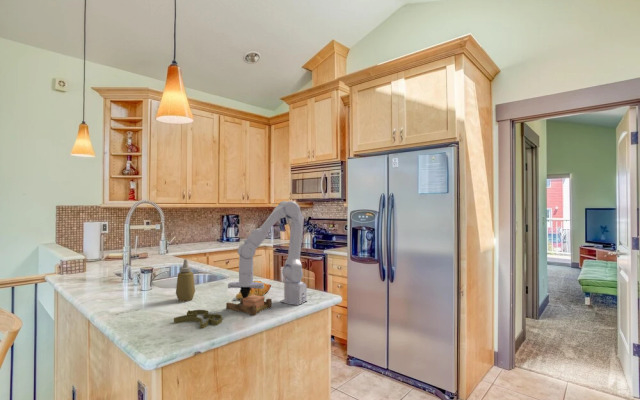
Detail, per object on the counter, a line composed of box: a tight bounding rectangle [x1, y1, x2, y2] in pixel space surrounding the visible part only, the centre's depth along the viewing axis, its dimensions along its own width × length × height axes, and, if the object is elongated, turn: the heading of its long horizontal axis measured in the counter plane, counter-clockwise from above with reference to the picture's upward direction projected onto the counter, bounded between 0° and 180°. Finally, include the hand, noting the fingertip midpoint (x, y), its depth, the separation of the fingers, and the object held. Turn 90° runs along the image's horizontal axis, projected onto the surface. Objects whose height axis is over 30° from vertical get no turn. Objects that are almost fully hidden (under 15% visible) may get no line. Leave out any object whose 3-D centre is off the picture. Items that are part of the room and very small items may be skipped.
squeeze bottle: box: [175, 258, 196, 302], centre depth 150 cm, size 8×8×18 cm
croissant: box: [235, 280, 272, 300], centre depth 157 cm, size 21×10×8 cm, turn 146°
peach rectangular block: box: [243, 295, 265, 308], centre depth 136 cm, size 6×6×4 cm
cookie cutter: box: [173, 309, 223, 329], centre depth 124 cm, size 18×12×2 cm, turn 65°
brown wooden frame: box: [225, 298, 272, 316], centre depth 138 cm, size 15×11×4 cm
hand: (245, 305), depth 138 cm, fingers closed, pressing on peach rectangular block
